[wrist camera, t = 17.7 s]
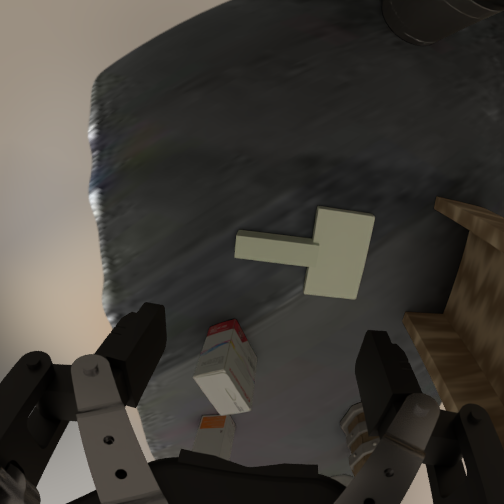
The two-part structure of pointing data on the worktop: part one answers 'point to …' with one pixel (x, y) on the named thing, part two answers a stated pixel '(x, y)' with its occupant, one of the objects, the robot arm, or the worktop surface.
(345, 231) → the sage mallet
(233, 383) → the ink box
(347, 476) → the coffee maker
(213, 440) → the skincare box
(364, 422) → the tankard
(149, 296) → the worktop surface
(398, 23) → the robot arm
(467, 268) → the wooden crate
